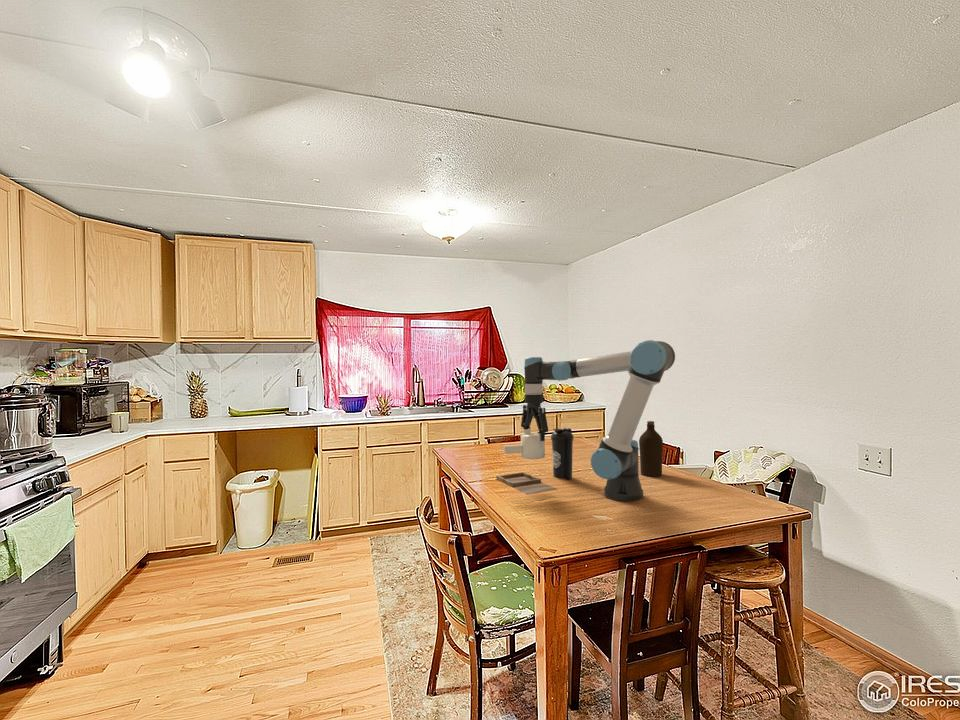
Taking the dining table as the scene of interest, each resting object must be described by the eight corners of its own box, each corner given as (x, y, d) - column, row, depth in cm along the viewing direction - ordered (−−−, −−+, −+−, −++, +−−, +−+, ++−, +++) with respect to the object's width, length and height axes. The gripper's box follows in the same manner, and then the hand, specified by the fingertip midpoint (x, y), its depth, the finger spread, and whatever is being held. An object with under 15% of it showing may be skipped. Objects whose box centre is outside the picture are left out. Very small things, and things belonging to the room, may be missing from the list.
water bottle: (547, 476, 222) (546, 427, 221) (565, 474, 226) (564, 426, 226) (559, 482, 212) (559, 430, 212) (578, 479, 217) (577, 429, 216)
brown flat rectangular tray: (558, 491, 198) (557, 485, 198) (527, 496, 191) (527, 491, 191) (523, 476, 222) (523, 471, 222) (495, 481, 215) (495, 475, 215)
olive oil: (666, 477, 218) (665, 423, 217) (642, 477, 219) (641, 423, 218) (659, 471, 228) (659, 419, 228) (637, 471, 229) (636, 419, 229)
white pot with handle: (540, 453, 205) (539, 432, 205) (548, 458, 196) (548, 436, 196) (501, 456, 202) (500, 434, 201) (507, 461, 192) (507, 438, 192)
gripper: (556, 395, 191) (557, 450, 191) (527, 391, 211) (527, 441, 212) (541, 396, 188) (541, 452, 188) (512, 392, 208) (513, 442, 208)
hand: (534, 446), depth 200 cm, fingers closed on white pot with handle, 10 cm apart
